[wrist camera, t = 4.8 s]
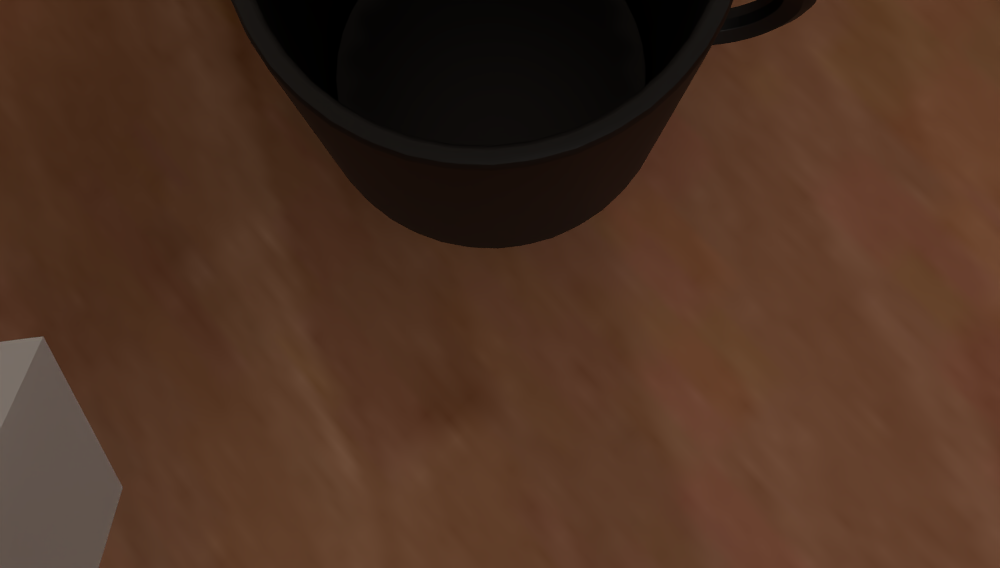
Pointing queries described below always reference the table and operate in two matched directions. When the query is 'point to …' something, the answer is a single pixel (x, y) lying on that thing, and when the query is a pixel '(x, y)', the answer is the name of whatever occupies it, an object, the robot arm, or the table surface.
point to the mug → (493, 98)
